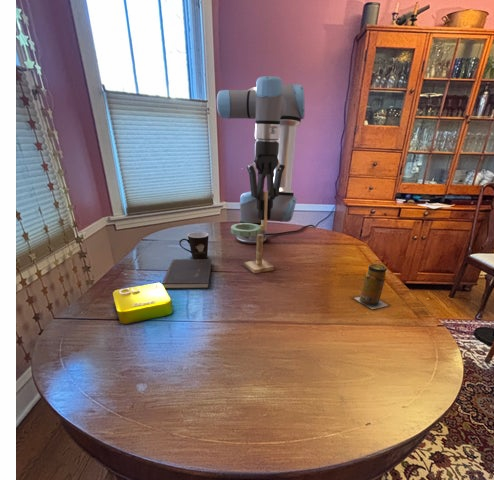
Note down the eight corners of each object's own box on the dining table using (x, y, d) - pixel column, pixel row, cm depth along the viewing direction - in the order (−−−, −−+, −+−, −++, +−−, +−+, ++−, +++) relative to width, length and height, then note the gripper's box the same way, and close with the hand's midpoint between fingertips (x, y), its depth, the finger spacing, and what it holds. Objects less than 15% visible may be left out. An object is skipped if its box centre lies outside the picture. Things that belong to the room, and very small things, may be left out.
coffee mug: (211, 254, 133) (210, 232, 128) (207, 261, 125) (205, 238, 120) (186, 253, 134) (184, 231, 128) (180, 260, 126) (177, 236, 121)
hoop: (238, 238, 98) (238, 196, 91) (226, 230, 106) (225, 190, 99) (273, 233, 103) (275, 193, 96) (259, 225, 111) (260, 188, 104)
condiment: (369, 294, 103) (378, 261, 96) (388, 305, 96) (398, 271, 90) (353, 298, 100) (360, 264, 94) (371, 310, 93) (381, 274, 87)
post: (263, 262, 126) (264, 230, 119) (274, 269, 120) (276, 236, 113) (244, 265, 123) (244, 233, 116) (254, 273, 116) (255, 239, 109)
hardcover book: (211, 264, 123) (211, 259, 122) (208, 288, 103) (208, 282, 102) (172, 264, 122) (171, 259, 120) (162, 289, 102) (161, 283, 101)
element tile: (120, 325, 82) (116, 310, 80) (115, 302, 93) (111, 288, 91) (174, 314, 88) (172, 299, 86) (163, 293, 99) (161, 280, 97)
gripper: (251, 140, 86) (250, 223, 99) (293, 141, 93) (287, 219, 105) (240, 140, 92) (240, 218, 104) (281, 140, 98) (276, 214, 111)
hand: (264, 218), depth 105 cm, fingers closed on hoop, 2 cm apart
